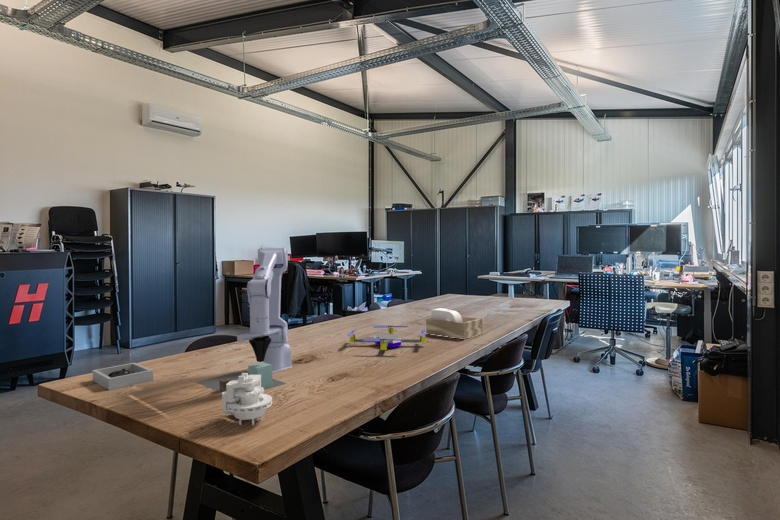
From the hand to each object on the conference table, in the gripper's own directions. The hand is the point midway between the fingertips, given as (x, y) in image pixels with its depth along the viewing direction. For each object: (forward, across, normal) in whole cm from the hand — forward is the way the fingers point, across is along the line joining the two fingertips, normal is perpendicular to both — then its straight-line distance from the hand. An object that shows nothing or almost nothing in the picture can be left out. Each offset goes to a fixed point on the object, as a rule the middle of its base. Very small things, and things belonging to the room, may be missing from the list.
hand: (260, 361), depth 139 cm
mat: (+8, -2, +8) cm, 12 cm away
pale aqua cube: (+8, 0, 0) cm, 8 cm away
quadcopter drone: (+9, +70, +9) cm, 71 cm away
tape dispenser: (+9, +109, +1) cm, 109 cm away
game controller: (+9, -26, +45) cm, 52 cm away
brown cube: (+8, -9, +5) cm, 13 cm away
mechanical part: (+9, -17, -21) cm, 28 cm away
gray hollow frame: (+8, -25, +43) cm, 50 cm away
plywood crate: (+8, +110, 0) cm, 110 cm away
